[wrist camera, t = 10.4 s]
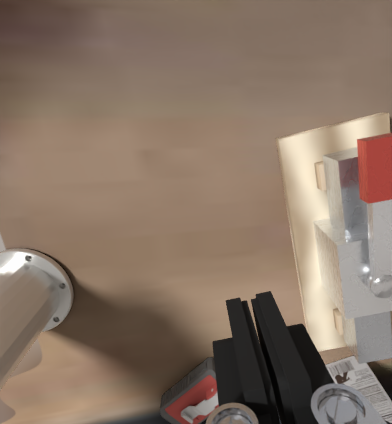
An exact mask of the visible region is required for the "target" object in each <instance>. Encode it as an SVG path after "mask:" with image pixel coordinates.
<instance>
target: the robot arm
mask: <svg viewBox="0 0 392 424" xmlns="http://www.w3.org/2000/svg"><path fill="white" fill-rule="evenodd" d="M73 297H74V293H73V287H72V284H71V281H70V279H69V277H68V275H67V274H66V272H65V271H64V270H63V268H62V267H61V266H60V265H59V264H58V263H56V262H55V261H54V260H53V259H51V258H50V257H48V256H46V255H45V254H42V253H40V252H37V251H34V250H30V249H22V248H15V249H8V250H5V251H2V252H0V390H1V389H2V387H3V386H4V385H5V383H6V382H7V380H8V379H9V377H10V376H11V374H12V373H13V372H14V370H15V369H16V367H17V366H18V365H19V363H20V362H21V360H22V359H23V357H24V356H25V355H26V353H27V352H28V350H29V349H30V348H31V346H32V345H33V343H34V342H35V340H36V339H37V338H38V336H39V335H40V333H41V332H44V331H47V330H50V329H52V328H54V327H56V326H57V325H59V324H60V323H61V322H62V321H63V320H64V319H65V317H66V316H67V315H68V313H69V311H70V310H71V307H72V304H73ZM251 302H252V307H253V312H254V317H255V322H256V327H257V332H258V336H257V333H256V330H255V326H254V323H253V320H252V317H251V313H250V310H249V307H248V303H247V300H246V301H241V299H240V298H235V299H231V300H226V305H227V310H228V315H229V321H230V326H231V331H232V336H233V337H232V338H227V339H222V340H218V341H213V353H214V363H215V373H216V384H217V394H218V404H219V407H218V408H216V409H215V410H214V411H213V412H212V413H211V414H210V415H209V417H208V419H207V420H206V424H280V422H279V417H278V413H279V416H280V420H281V423H282V424H392V423H390V422H388V421H386V420H384V419H383V418H382V417H381V415H380V414H379V413H378V412H377V411H376V409H375V408H374V407H373V406H372V405H371V403H370V402H369V401H368V400H367V398H366V397H365V396H363V395H362V394H361V393H360V392H359V391H357V390H356V389H354V388H352V387H350V386H347V385H344V384H335V382H334V380H333V379H332V377H331V375H330V373H329V371H328V369H327V367H326V366H325V364H324V362H323V360H322V358H321V356H320V354H319V353H318V351H317V349H316V347H315V345H314V343H313V341H312V339H311V338H310V336H309V334H308V332H307V330H306V328H305V327H304V325H303V324H297V325H292V326H286V324H285V322H284V320H283V318H282V315H281V313H280V311H279V309H278V307H277V304H276V302H275V300H274V298H273V295H272V293H271V292H270V291H269V292H264V293H260V294H256V298H255V299H251ZM258 337H259V340H258ZM259 342H260V343H259ZM276 406H277V407H276ZM277 410H278V412H277Z"/></svg>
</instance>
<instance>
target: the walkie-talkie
mask: <svg viewBox="0 0 392 424" xmlns="http://www.w3.org/2000/svg"><path fill="white" fill-rule="evenodd" d="M218 407H219V404H218V394H217V384H216V373H215V363H214V359H213V358H212V357H210V358H207V359H206V360H205V361H204V362H202V363H201V364H200V365H199V366H197V367H196V368H195V369H194V370H192V371H191V372H190V373H189V374H188V375H186V377H185V378H183V379H181V381H179V382H178V383H176V385H174V386H173V387H171V389H169V390H168V391H166V393H164V394H163V395H162V398H161V406H160V414H161V416H162V417H163V418H164V419H166V420H167V421H169V422H170V423H171V424H200V423H201V422H203V421H204V420H206V419H207V418H208V417H209V415H210V414H211V413H212V412H213V411H214V410H215V409H216V408H218Z"/></svg>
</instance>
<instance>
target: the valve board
mask: <svg viewBox="0 0 392 424" xmlns="http://www.w3.org/2000/svg"><path fill="white" fill-rule="evenodd" d="M387 133H390V117H389V113H378V114H374V115H370V116H366V117H362V118H358V119H354V120H350V121H345V122H341V123H337V124H333V125H329V126H325V127H321V128H317V129H313V130H308V131H304V132H300V133H296V134H292V135H288V136H284V137H280V138H276V145H277V151H278V157H279V163H280V169H281V176H282V182H283V188H284V194H285V200H286V206H287V213H288V219H289V225H290V231H291V237H292V244H293V250H294V256H295V262H296V268H297V274H298V281H299V287H300V293H301V299H302V305H303V312H304V318H305V324H306V330H307V332H308V334H309V336H310V338H311V339H312V341H313V343H314V345H315V347H316V349H317V351H323V350H329V349H334V348H340V347H345V346H347V344H346V342H345V341H344V334H343V325H342V317H341V312H340V311H339V309H338V308H337V307H336V305H335V304H334V302H333V301H332V299H331V298H330V296H329V295H328V293H327V292H326V291H325V289H324V288H323V286H322V284H321V276H320V269H319V262H318V254H317V247H316V240H315V232H314V225H313V221H317V220H321V219H326V218H330V215H329V206H328V198H327V190H326V181H325V173H324V164H323V156H322V155H325V154H330V153H334V152H338V151H342V150H347V149H351V148H355V147H357V139H362V138H367V137H372V136H377V135H382V134H387ZM390 316H391V332H392V311H390Z"/></svg>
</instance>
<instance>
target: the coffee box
mask: <svg viewBox="0 0 392 424" xmlns="http://www.w3.org/2000/svg"><path fill="white" fill-rule="evenodd" d="M325 366H326V367H327V369H328V371H329V373H330V375H331V377H332V379H333V380H334V382H335V384H344V385H347V386H350V387H352V388H354V389H356V390H357V391H359V392H360V393H361V394H362V395H363V396H365V397H366V398H367V400H368V401H369V402H370V403H371V405H372V406H373V407H374V408H375V409H376V411H377V412H378V413H379V414H380V415H381V417H382V418H383V419H384V420H386V421H388V422H390V423H392V401H391V399H390V398H389V396H388V395H387V393H386V392H385V390H384V389H383V387H382V385H381V384H380V382H379V381H378V379H377V378H376V376H375V375H374V373H373V371H372V370H371V368H370V367H369V365H368V364H367V363H361V364H359V363H358V362H357V360H356V358H355V357H354V356H351V357H348V358H345V359H342V360H339V361H336V362H333V363H330V364H327V365H325Z"/></svg>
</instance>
